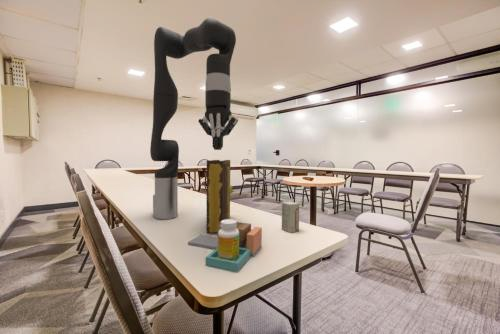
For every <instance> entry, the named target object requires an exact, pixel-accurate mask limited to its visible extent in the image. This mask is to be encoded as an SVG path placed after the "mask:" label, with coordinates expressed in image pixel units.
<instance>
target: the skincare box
mask: <svg viewBox="0 0 500 334" xmlns="http://www.w3.org/2000/svg"><path fill="white" fill-rule="evenodd" d="M281 229H282V230H283V231H286V232H287V233H296V232H299V231H300V203H299V202H294V201H282V202H281Z"/></svg>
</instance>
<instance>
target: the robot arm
mask: <svg viewBox="0 0 500 334" xmlns="http://www.w3.org/2000/svg"><path fill="white" fill-rule="evenodd" d="M184 33H185V34H183V35H181V34H180V33H178V32H176V31H173V30H170V29H168V28H165V27H161V26H159V27H157V29H156V31H155V33H154V39H153V40H154V42H153V46H154V47H153V51H154V52H153V53H154V85H153V86H154V87H153V102H152V104H153V105H152V106H153V109H152V112H153V115H152V128H151V129H152V130H151V137H150V138H151V140H150V149H149V151H150V157H151V160H152V161H153V162H167V164H166V165H165V166H163V167H162V168H159V169H156V170H155V171H154V194H153V195H152V217H153V218H155V219H157V220H170V219H175V218H177V217H178V215H179V214H178V212H179V211H178V209H179V208H178V205H179V203H178V201H179V200H178V199H179V198H178V193H179V192H178V189H179V188H178V187H179V186H178V177H179V176H178V173H179V158H180V157H179V153H180V147H179V144H178V141H177V140H175V139H162V137H163V134H164V133H163V132H164V130H165V128H166V126H167V124H169V122H170V120H171V119H172V118H173V117H174V115H175V114H176V113H177V109H178V101H179V93H178V88H177V86H176V84H175V81H174V79H173V78H172V76H171V73H170V71H169V68H168V64H167V63H168V61H167V57H169V58H172V59H175V60H180V59H182V58H185V57H187V56H189V55H192V54H193V53H197V52H207V51H209V50H212V48H213V49H216V50H218V53H210V54H209V55H208V56H207V59H206V65H205V66H206V67H205V68H206V78H205V92H204V93H205V94H204V95H205V102H204V104H205V112H204V116H203V117H202V118H199V119H198V123H199V125H200V126H201V128H202V129H203V131H204V132H205V133H206V135H207V136H210V137H212V148H213V150H215V151H219V150H220V151H221V150H222V149H223V146H224V137H226V136H229V135H230V134H231V132H232V130H234V127H235V126H236V125H237V124H238V122H239V119H238V118H236V117H234V116H233V115H232V111H231V98H232V97H231V96H232V95H231V92H232V88H231V87H232V86H231V84H232V83H231V62H232V58H233V54H234V50H235V47H236V43H237V38H236V32H235V31H234V29H233V28H231V27H230V26H228V25H226V24H225V23H224V22H221V21H219V20H217V19H215V18H212V17H211V18H209V17H208V18H205V19H204V20H203V21H202V23H201V24H199V25H198V26H196V27H192V28H189V29H187V30H186V32H184Z"/></svg>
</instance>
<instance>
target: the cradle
mask: <svg viewBox="0 0 500 334" xmlns="http://www.w3.org/2000/svg"><path fill="white" fill-rule="evenodd" d="M251 257H252V256H251V249H246V248H240V247H239V259H238V260H237V261H230V260H225V259H220V258H218V248H217V249H216V250H214V249H213V251H212V252H210V253H209V254H208V255H206V256H205V262H204V263H205V266H207V267H211V268H217V269H222V270H225V271H231V272H235V273H238V272H239V271H241V269H242V268H243V266H244V265H245V264H246V263H247V261H248V260H250V258H251Z"/></svg>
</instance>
